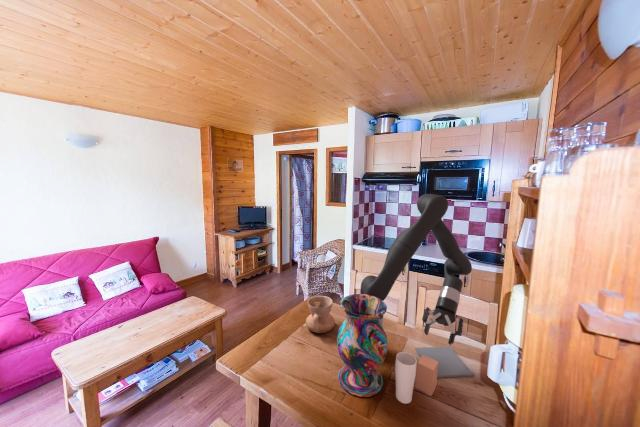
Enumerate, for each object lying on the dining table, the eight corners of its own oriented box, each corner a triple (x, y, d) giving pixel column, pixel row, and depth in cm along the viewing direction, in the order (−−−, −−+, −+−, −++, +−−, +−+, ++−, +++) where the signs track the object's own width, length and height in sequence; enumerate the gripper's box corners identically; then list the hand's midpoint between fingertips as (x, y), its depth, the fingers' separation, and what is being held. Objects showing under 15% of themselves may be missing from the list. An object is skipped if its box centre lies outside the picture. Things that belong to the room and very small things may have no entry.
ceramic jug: (312, 316, 137) (311, 291, 135) (338, 320, 133) (338, 295, 131) (299, 336, 120) (299, 308, 118) (329, 342, 116) (329, 313, 114)
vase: (371, 410, 82) (376, 324, 78) (326, 382, 93) (327, 305, 89) (393, 375, 97) (397, 302, 92) (351, 355, 108) (353, 288, 103)
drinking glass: (390, 390, 90) (392, 351, 88) (408, 389, 91) (411, 351, 88) (397, 407, 83) (400, 366, 81) (417, 406, 84) (420, 365, 82)
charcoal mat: (433, 377, 96) (433, 375, 96) (414, 349, 112) (415, 347, 112) (473, 376, 97) (473, 374, 97) (449, 348, 113) (449, 346, 113)
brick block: (431, 396, 88) (433, 370, 86) (415, 387, 91) (417, 362, 90) (436, 386, 92) (438, 361, 90) (421, 378, 95) (422, 354, 94)
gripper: (428, 291, 107) (417, 328, 100) (466, 302, 97) (456, 344, 90) (431, 298, 111) (420, 334, 104) (468, 310, 102) (459, 350, 95)
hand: (437, 339), depth 97 cm, fingers open, 8 cm apart
